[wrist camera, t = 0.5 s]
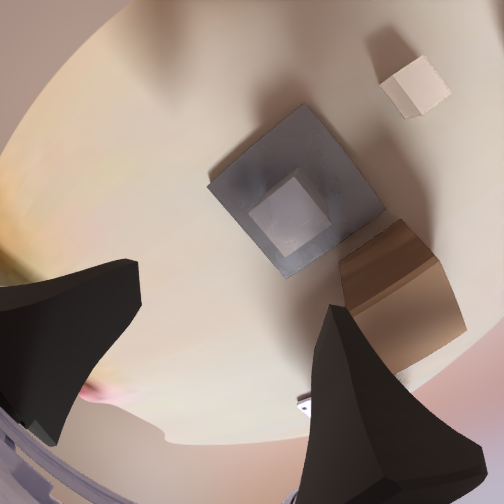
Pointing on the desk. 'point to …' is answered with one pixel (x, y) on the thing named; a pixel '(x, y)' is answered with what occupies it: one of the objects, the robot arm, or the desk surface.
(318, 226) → the post
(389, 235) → the brown rectangular block
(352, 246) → the desk surface
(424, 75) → the off-white cube
